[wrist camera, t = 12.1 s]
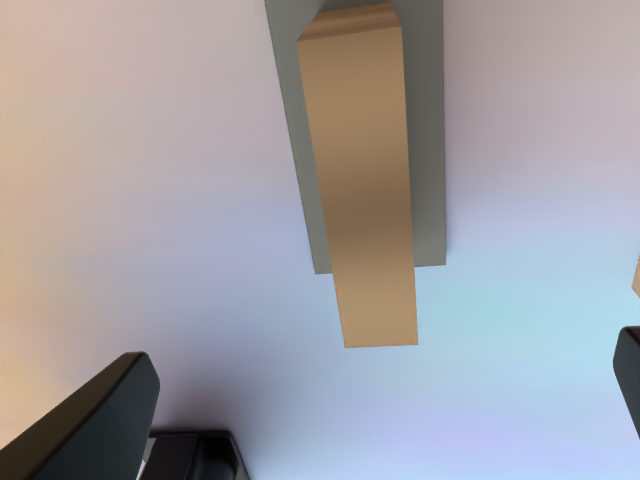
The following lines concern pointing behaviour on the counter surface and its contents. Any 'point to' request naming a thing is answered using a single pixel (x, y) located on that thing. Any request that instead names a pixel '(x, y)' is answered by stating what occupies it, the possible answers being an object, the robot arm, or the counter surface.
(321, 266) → the mat
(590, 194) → the counter surface
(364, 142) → the tan long block
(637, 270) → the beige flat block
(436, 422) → the counter surface
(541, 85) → the counter surface
